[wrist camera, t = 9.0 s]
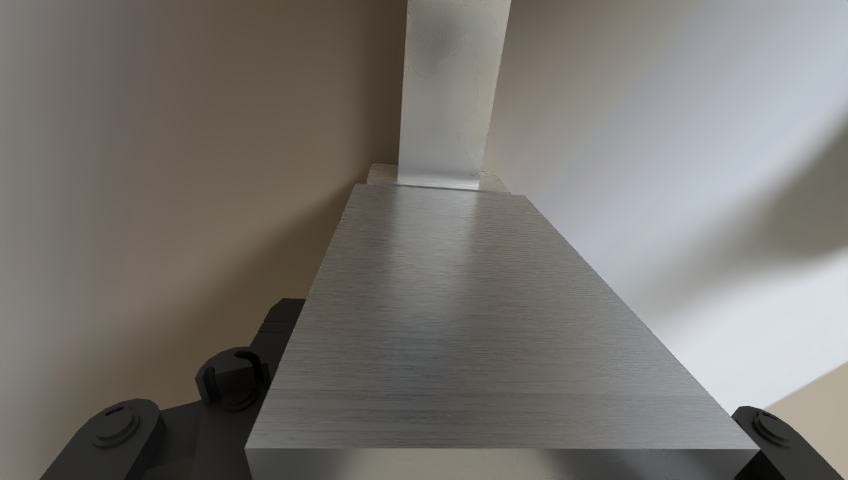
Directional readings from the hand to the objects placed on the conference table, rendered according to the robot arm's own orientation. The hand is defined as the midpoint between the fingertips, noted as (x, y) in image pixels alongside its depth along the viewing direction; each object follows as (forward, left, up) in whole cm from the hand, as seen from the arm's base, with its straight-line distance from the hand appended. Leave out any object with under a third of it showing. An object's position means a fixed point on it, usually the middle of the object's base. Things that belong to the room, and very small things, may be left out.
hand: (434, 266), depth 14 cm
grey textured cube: (0, 0, 0) cm, 0 cm away
